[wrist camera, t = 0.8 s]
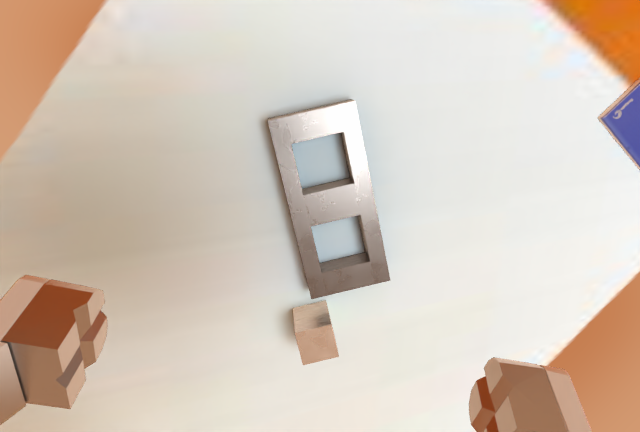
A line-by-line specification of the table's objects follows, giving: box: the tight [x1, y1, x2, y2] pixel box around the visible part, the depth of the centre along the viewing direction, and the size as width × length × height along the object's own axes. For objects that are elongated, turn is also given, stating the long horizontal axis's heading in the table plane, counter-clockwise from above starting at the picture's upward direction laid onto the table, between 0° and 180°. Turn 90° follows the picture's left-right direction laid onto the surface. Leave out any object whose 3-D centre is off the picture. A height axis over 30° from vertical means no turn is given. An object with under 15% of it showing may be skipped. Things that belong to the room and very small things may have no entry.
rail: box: [268, 99, 390, 299], centre depth 54 cm, size 20×9×3 cm, turn 12°
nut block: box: [293, 300, 339, 365], centre depth 57 cm, size 4×4×6 cm
